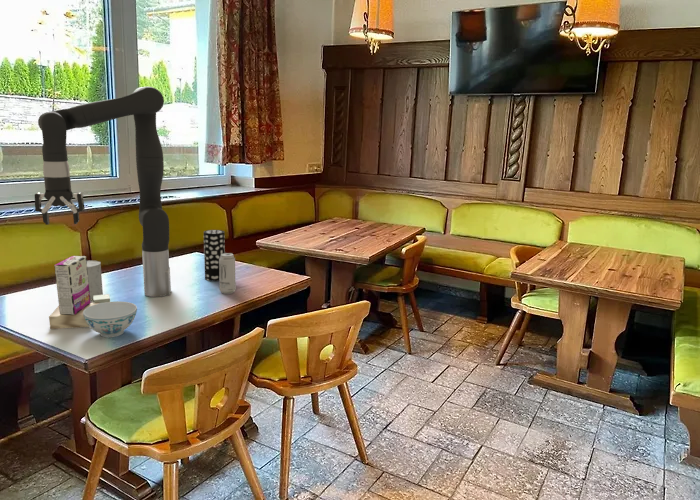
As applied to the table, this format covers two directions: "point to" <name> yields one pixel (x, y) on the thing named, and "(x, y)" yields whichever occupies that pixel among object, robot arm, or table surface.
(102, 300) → the brick
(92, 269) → the speckled grey cylinder
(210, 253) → the white-spotted black cylinder
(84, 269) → the candy bar box
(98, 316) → the chinaware
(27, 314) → the table surface
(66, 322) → the pedestal
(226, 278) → the energy drink can
